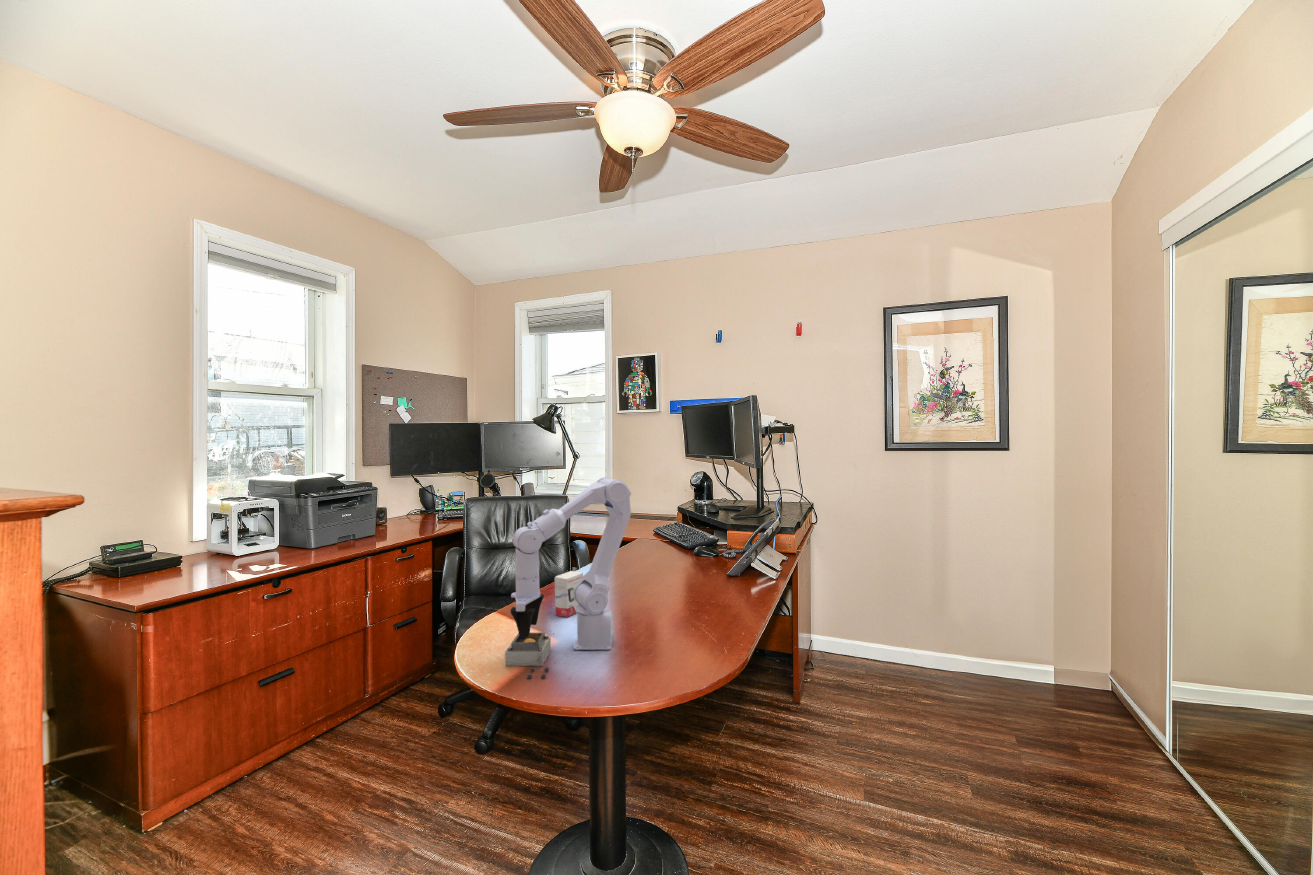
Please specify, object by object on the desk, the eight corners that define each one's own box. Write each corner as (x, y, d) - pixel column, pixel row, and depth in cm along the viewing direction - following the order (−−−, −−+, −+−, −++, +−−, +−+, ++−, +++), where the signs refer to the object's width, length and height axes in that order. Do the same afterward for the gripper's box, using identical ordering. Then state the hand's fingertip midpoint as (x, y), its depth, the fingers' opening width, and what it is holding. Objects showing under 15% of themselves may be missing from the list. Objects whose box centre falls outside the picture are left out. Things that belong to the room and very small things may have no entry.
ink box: (567, 618, 159) (566, 579, 159) (554, 615, 162) (553, 577, 161) (584, 609, 167) (584, 572, 166) (572, 606, 169) (571, 570, 169)
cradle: (548, 670, 125) (548, 667, 125) (544, 678, 121) (544, 675, 121) (531, 670, 125) (531, 667, 125) (527, 678, 121) (527, 675, 121)
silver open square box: (550, 649, 137) (550, 630, 136) (542, 665, 128) (542, 645, 127) (516, 650, 137) (515, 630, 137) (505, 665, 128) (505, 645, 128)
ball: (528, 655, 135) (529, 638, 136) (540, 655, 133) (541, 638, 134) (517, 655, 131) (518, 638, 133) (528, 655, 130) (530, 637, 131)
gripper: (519, 568, 139) (520, 619, 139) (502, 584, 124) (503, 642, 125) (546, 568, 139) (547, 619, 139) (532, 584, 124) (533, 641, 125)
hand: (528, 630), depth 132 cm, fingers open, 7 cm apart
